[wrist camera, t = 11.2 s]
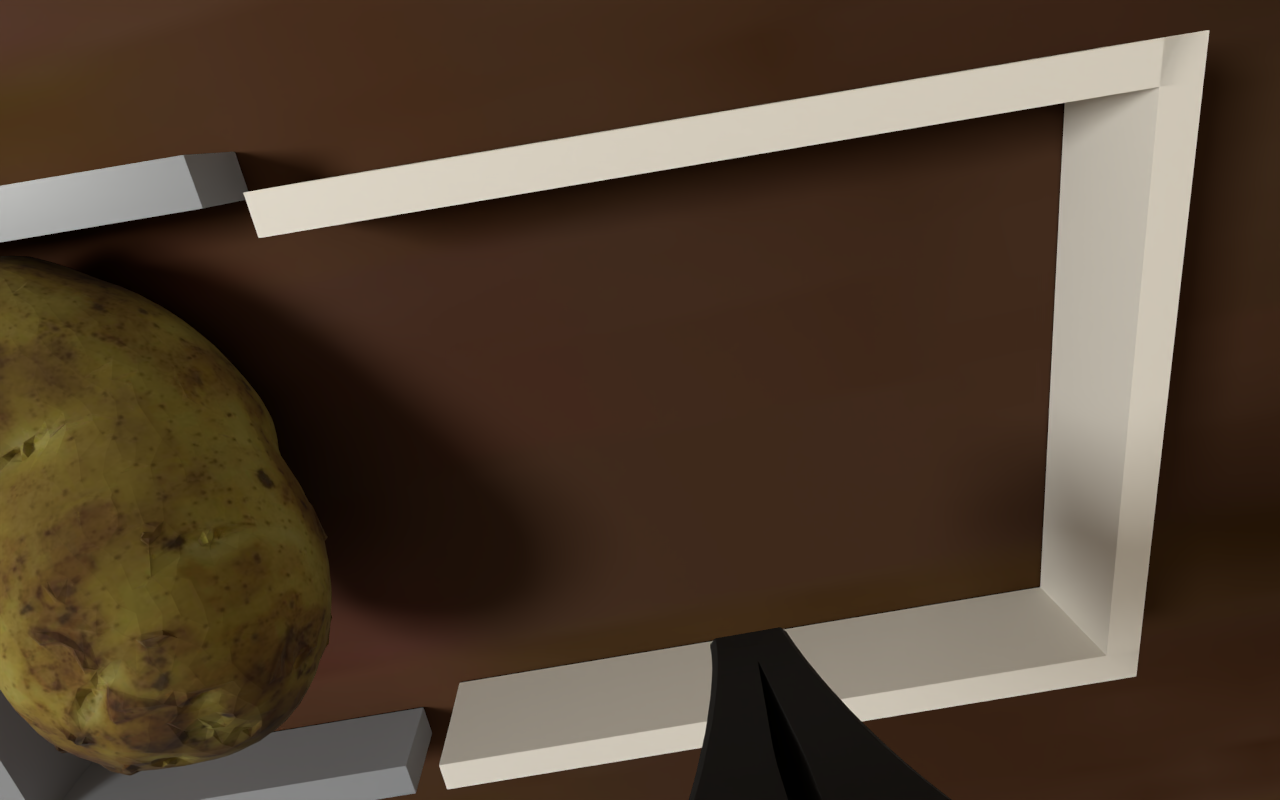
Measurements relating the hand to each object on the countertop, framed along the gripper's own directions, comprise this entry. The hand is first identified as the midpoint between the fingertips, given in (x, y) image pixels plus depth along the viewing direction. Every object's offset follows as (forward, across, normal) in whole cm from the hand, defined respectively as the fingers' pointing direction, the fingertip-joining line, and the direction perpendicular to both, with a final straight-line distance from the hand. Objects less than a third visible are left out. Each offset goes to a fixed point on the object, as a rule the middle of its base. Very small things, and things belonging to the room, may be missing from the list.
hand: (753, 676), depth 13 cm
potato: (+10, +14, -3) cm, 18 cm away
